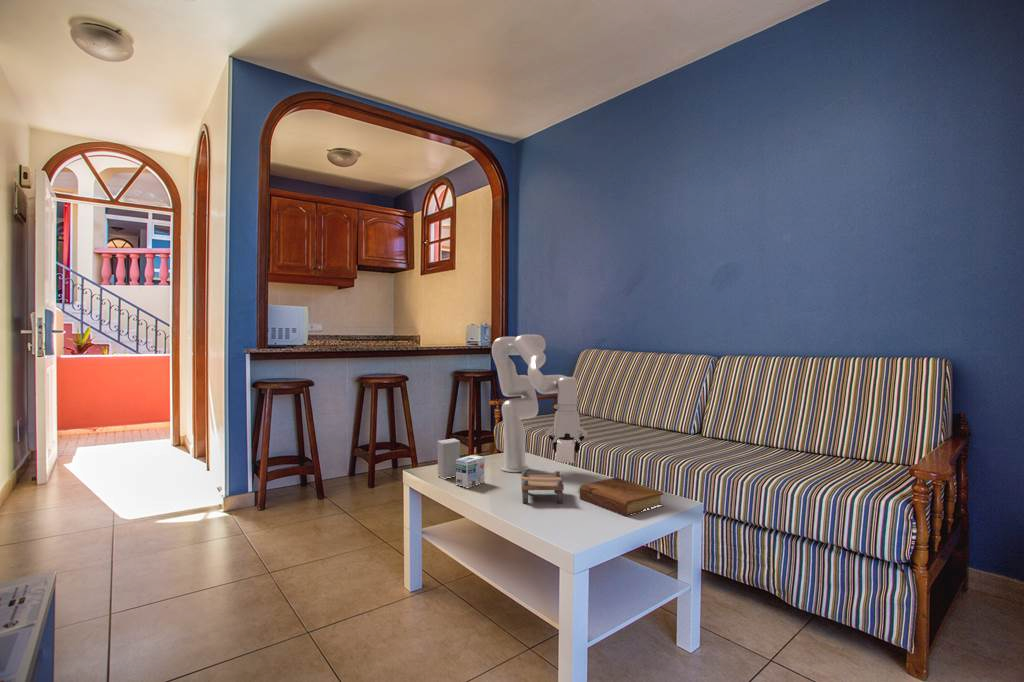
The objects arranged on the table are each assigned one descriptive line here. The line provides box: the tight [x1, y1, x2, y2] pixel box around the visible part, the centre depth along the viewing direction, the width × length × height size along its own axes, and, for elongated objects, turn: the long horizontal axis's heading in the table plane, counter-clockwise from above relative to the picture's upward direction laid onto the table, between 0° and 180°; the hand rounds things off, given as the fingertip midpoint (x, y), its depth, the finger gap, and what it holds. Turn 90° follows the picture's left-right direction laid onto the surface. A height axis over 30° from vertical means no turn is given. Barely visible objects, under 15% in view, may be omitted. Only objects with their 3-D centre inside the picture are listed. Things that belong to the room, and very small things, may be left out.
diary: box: [579, 477, 664, 517], centre depth 189 cm, size 23×19×6 cm
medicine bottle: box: [555, 433, 576, 464], centre depth 210 cm, size 7×7×12 cm
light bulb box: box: [455, 454, 485, 488], centre depth 214 cm, size 11×7×11 cm, turn 143°
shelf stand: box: [520, 470, 565, 505], centre depth 196 cm, size 15×15×8 cm
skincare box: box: [437, 438, 461, 478], centre depth 225 cm, size 8×7×16 cm
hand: (566, 451), depth 210 cm, fingers closed on medicine bottle, 7 cm apart
